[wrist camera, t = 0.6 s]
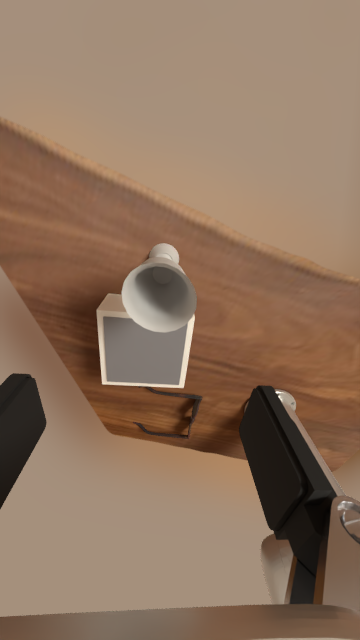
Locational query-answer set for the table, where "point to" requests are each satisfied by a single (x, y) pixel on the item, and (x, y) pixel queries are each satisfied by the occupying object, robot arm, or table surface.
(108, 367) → the display plinth
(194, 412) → the eyeglasses
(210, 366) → the table surface
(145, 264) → the chalice
